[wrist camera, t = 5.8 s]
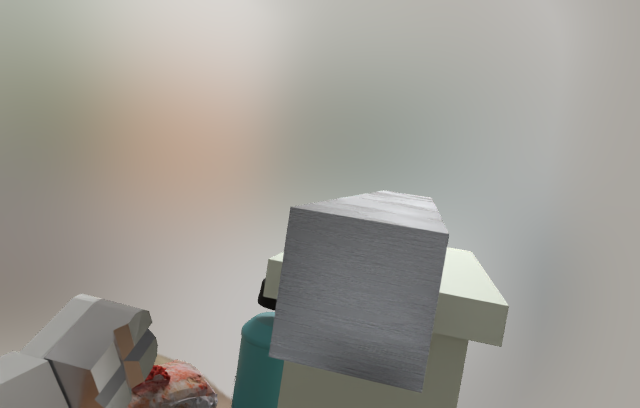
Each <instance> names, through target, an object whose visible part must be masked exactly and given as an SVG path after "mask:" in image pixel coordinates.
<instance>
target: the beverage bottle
mask: <svg viewBox="0 0 640 408" xmlns="http://www.w3.org/2000/svg"><path fill="white" fill-rule="evenodd" d="M265 280H266V278H265V279H264V280H263V281H262V286H261V290H260V294H259V297H258V303H259V304H260V305H261V306H263V307H265V308H268V309H272V310H276V303H277V299H273V298H269V297H264V296H263V294H264V287H265ZM274 316H275V312H265V313H260V314H258V315H256V316H255V317H253V318H252V319H251V320H249V321H248V322H247V323H246V324H245V325H244V326H243V327H242V332H241V335H242V338H241V345H240V353H239V360H238V368H237V375H236V376H235V377H236V381H235V386H234V394H233V401H232V405H231V406H232V408H277V406H278V399H279V393H280V386H281V379H282V373H283V366H284V360H281V359H276V358H272V357H269V350H270V343H271V337H272V330H273V323H274Z"/></svg>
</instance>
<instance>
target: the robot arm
mask: <svg viewBox="0 0 640 408" xmlns="http://www.w3.org/2000/svg"><path fill="white" fill-rule="evenodd" d="M151 323H152V320H151V316H150V313H149V311H146V310H143V309H139V308H135V307H131V306H127V305H124V304H120V303H116V302H113V301H109V300H105V299H102V298H98V297H93V296H89V295H85V294H80V295H78V296H76V297H73V298H72V299H71V300H70V301H69V302H68V303H67V304H66V305H65V306H64V307H63V308H62V309H61V310H60V311H59V312H58V313H57V314H56V315H55V316H54V317H53V318H52V319H51V320H50V321H49V322H48V323H47V324H46V325H45V326H44V327H43V329H41V330H40V332H38V333H37V334H36V335H35V336H34V337H33V339H31V340H30V342H29V343H28V344H27V345H26V346H25V347H24V348H23V349H22V350H21V351H20V352H16V351H11V352H9V353H6V354H4V355H2V356H0V408H127V406H128V405H129V403H130V402H131V400H132V393H131V389H132V388H133V387H135V386H137V385H139V384H140V383H142V382H144V381H145V379H146V378H147V376H148V375H149V373H150V372H151V370H152V368H153V365H154V362H155V359H156V357H157V346H158V345H157V340H156V337H155V336H154V335H153V333H152V332H151V331H150V330H149V329H148V327H149V326H150V325H151Z"/></svg>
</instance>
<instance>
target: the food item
mask: <svg viewBox="0 0 640 408" xmlns="http://www.w3.org/2000/svg"><path fill="white" fill-rule="evenodd" d="M131 393H132V400H131V402H130V403H129V405H128V406H127V408H216V406H217V403H218V399H217V394H215V392H214V390H213V388H212V387H210V386H209V383H208V382H207V381H206V380H205V378H204V376H203V375H202V373H201V372H200V371H199V370H198V369H197V368H195V367H194V366H192V365H191V364H190V363H186V362H183V361H180V360H178V359H177V360H174V361H172V362H170V363H165V364H163V365H157V366H156V365H155V366H154V365H153V368H152V370H151V372H150V373H149V375H148V376H147V378H146V379H145V381H144V382H142V383H140V384H139V385H137V386H135V387H133V388H132V389H131Z"/></svg>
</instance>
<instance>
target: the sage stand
mask: <svg viewBox="0 0 640 408" xmlns="http://www.w3.org/2000/svg"><path fill="white" fill-rule="evenodd" d="M283 255H284V252H282V253H280V254H278V255H276V256H274V257H272V258H270V259H269V260H268V266H267V273H266V280H265V287H264V294H263V296H264V297H269V298H273V299H277V296H278V289H279V282H280V276H281V269H282V262H283ZM508 308H509V306H508V304H507V303H506V301H505V300H504V298H503V297H502V295H501V294H500V292H499V291H498V289H497V288H496V287H495V285H494V284H493V282H492V281H491V279H490V278H489V276H488V275H487V274H486V272H485V270H484V269H483V268H482V266H481V265H480V263H479V262H478V260H477V259H476V258H475V256H474V254H473V253H472V252H470V251H465V250H460V249H453V248H448V247H447V250H446V256H445V261H444V267H443V273H442V279H441V285H440V290H439V296H438V302H437V308H436V314H435V319H434V325H433V331H432V337H431V343H430V348H429V354H428V360H427V366H426V371H425V377H424V383H423V389H422V393H419V392H415V391H411V390H406V389H402V388H398V387H394V386H390V385H385V384H381V383H377V382H373V381H369V380H364V379H360V378H356V377H352V376H348V375H344V374H339V373H335V372H331V371H327V370H323V369H318V368H314V367H310V366H306V365H302V364H297V363H293V362H289V361H285V360H284V366H283V373H282V379H281V386H280V393H279V399H278V406H277V408H456V407H457V402H458V396H459V391H460V385H461V379H462V374H463V368H464V363H465V357H466V351H467V345H468V340H471V341H476V342H481V343H485V344H490V345H495V346H499V347H501V346H502V340H503V334H504V329H505V324H506V319H507V313H508Z"/></svg>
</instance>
